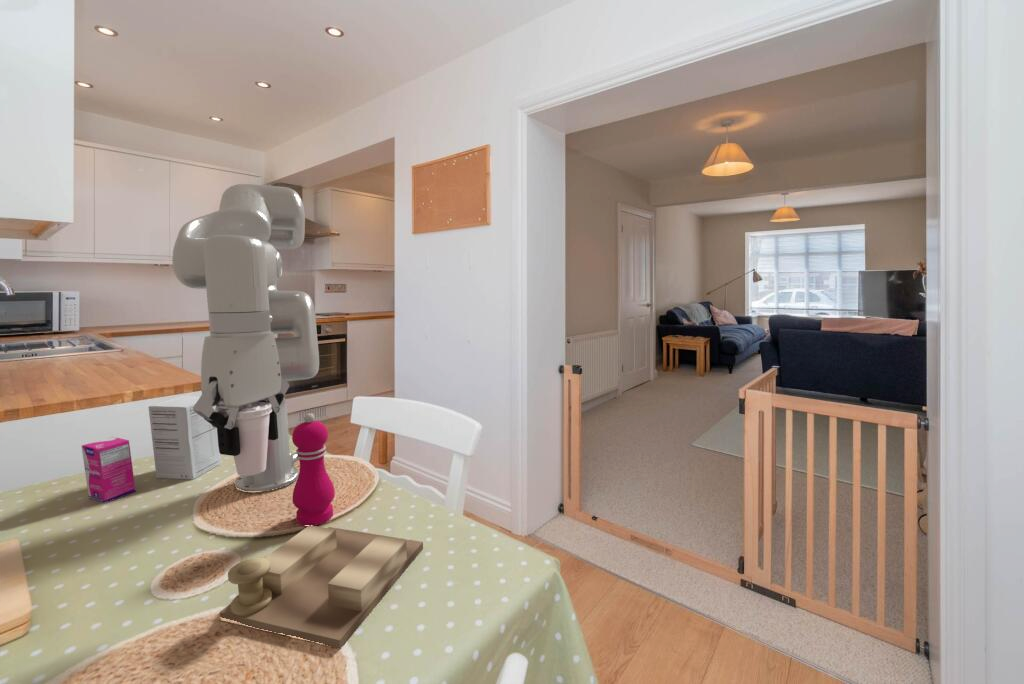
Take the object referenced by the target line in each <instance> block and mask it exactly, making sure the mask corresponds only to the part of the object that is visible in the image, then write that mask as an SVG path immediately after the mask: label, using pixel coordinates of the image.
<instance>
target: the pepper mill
mask: <svg viewBox="0 0 1024 684" xmlns="http://www.w3.org/2000/svg"><path fill="white" fill-rule="evenodd" d="M315 417H316V416H315V415H314V414H313V413H306V414H304V417H303V420H304V421H303V422H302V423H300V424H297V425H296V426H295V428H294V429H293V432H292V439H291V440H292V443H293V445H294V446H295V447H296V448H297V449H296V450H295V453H297V455H296V457H297V458H298V459H299V460H298V461H299V470H298V471H299V476H298V478H297V479H296V481H295V485H294V487H293V491H292V505H294V506H295V508H297V510H296V512H295V514H296V522H297V524H298V523H299V524H298V525H300V526H303V525H315V526H319V525H323V524H324V523H326V521H327V522H328V521H330V520H331V519H332V518H333V516H334V506H333V504H332V501H333V500H334V499H335V495H336V492H335V487H334V484H333V481H332V479H331V478H330V476H329V473H328V472H327V470H326V465H325V456H326V454H327V450H326V448H327V447H326V445H325V444H326V442H327V441H328V439H329V431H328V429H327V426H326V425H325V424H324V423H322V422H320V421H316V420H315ZM331 517H332V518H331ZM330 518H331V519H330ZM329 519H330V520H329Z"/></svg>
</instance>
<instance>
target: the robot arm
mask: <svg viewBox="0 0 1024 684" xmlns="http://www.w3.org/2000/svg"><path fill="white" fill-rule="evenodd" d="M305 225H306V212H305V207H304V203H303V200H302V198H301V196H300V195H299V193H298V192H297V191H296V190H294V189H292V188H291V187H287V186H276V185H265V184H263V185H261V184H255V183H254V184H251V183H241V184H233V185H231V186H229V187H227V188H226V189H225V190H224V191H223V193H222V195H221V198H220V203H219V208H218V210H216V211H213V212H211V213H207V214H205V215H202V216H199V217H196V218H192V219H191V220H189V221H188V222H185V224H183V225H182V227H181V228H180V230H179V232H178V234H177V237H176V238H175V239H176V240H175V242H174V245H173V250H172V258H171V259H172V260H171V261H172V262H171V263H172V269H173V272H174V275H175V277H176V279H177V280H178V282H180V283H181V284H182V285H183V286H185V287H187V288H190V289H200V290H201V289H202V290H205V291H206V302H207V310H208V311H207V313H208V325H209V334H210V335H207V336H204V341H203V345H202V354H201V360H200V361H201V362H200V371H201V372H200V379H201V380H200V382H201V383H200V387H201V394H200V396H201V397H200V398H199V400H198V401H197V402H196V404H195V405H194V407H193V411H194V412H196V413H197V414H199V415H200V416H201V417H204V419H205V420H206V421H208V422H209V423H210V424H212V427H214V428H217V435H218V447H219V453H220V454H221V455H224V456H230V457H231V456H232V457H234V456H237V455H239V454H240V439H239V429H238V427H234V424H235V420H236V416H237V412H238V409H239V407H240V406H243V405H247V404H250V403H254V402H265V403H269V404H271V408H272V412H271V413H270V415H269V431H268V446H267V460H266V470H265V471H263V472H261V473H259V474H255V475H250V476H240V475H238V477H236V478H235V480H234V482H233V485H234V484H235V485H234V487H235V486H236V487H237V488H239V489H241V490H244V491H267V490H272V489H276V488H279V489H281V488H280V487H282V488H284V487H283V486H285V487H287V486H289V485H291V484H293V483H294V482H296V481H297V479H298V476H299V471H300V470H299V469H298V468H297V467H295V466H294V465H295V463H296V461H299V459H298V458H297V457H296V455H297V453H296V452H294V453H291V451H290V438H289V437H290V436H289V435H290V433H289V422H288V421H289V420H288V405H287V401H286V398H285V395H286V393H287V391H288V390H289V388H290V384H289V381H290V382H291V381H303V380H309V379H312V378H315V376H316V375H317V374H318V372H319V370H320V350H319V341H318V333H317V318H316V310H315V305H314V301H313V300H312V297H311V296H310V295H309V294H308V293H306V292H305V291H300V290H278V288H277V287H278V286H277V283H278V281H279V279H280V278H282V275H283V260H282V256H281V253H280V252H279V251H278V250H296V249H299V248H300V247H301V246H302V245H303V243H304V241H305V234H306V232H305V231H306V230H305V229H306V227H305ZM274 334H275V335H276V334H278V335H279V334H292V335H293V336H292V337H290V336H288V337H275V336H274ZM212 406H216V408H215V411H214V409H213V408H212ZM225 410H228V411H227V415H226V417H224V414H225ZM292 482H293V483H292ZM290 483H291V484H290ZM288 484H289V485H288ZM286 485H287V486H286ZM276 490H277V489H276ZM272 491H273V490H272ZM267 492H268V491H267Z"/></svg>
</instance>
